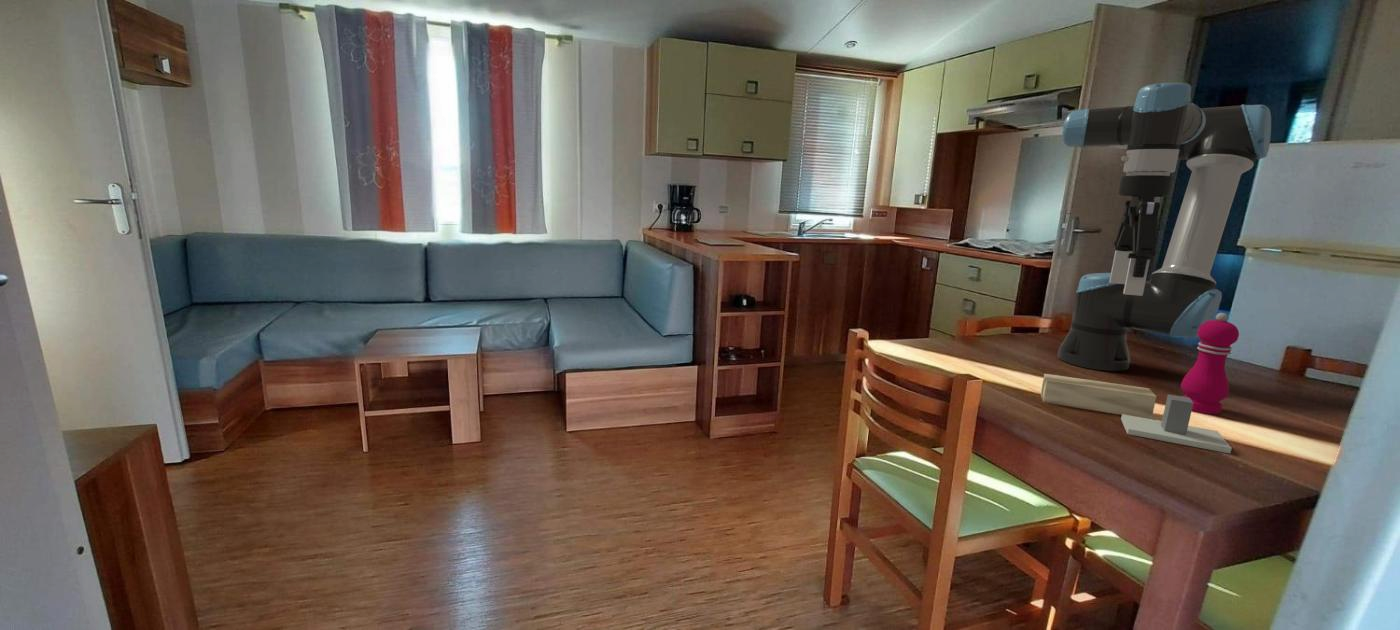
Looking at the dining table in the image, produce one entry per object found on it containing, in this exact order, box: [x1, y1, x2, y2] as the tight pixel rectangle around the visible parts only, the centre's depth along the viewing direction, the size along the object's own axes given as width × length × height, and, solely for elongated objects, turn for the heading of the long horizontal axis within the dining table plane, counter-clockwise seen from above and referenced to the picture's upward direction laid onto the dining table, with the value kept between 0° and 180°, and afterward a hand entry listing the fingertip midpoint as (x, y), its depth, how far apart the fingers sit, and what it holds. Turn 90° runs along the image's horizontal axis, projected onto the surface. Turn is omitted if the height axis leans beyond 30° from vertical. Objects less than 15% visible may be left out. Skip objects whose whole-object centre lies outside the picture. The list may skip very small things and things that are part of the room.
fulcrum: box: [1120, 394, 1233, 454], centre depth 100 cm, size 8×14×7 cm, turn 60°
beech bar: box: [1040, 373, 1157, 419], centre depth 113 cm, size 5×18×5 cm, turn 64°
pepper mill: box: [1180, 312, 1240, 415], centre depth 111 cm, size 7×7×20 cm
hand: (1124, 289), depth 107 cm, fingers open, 13 cm apart
